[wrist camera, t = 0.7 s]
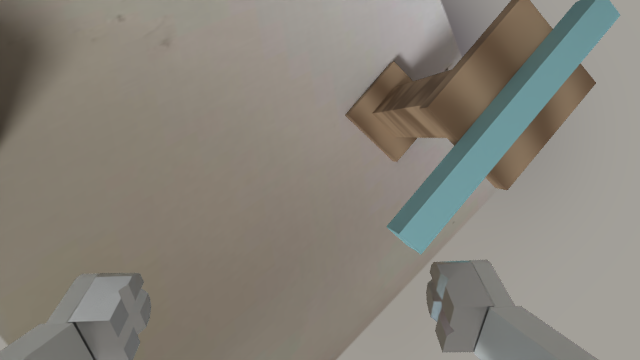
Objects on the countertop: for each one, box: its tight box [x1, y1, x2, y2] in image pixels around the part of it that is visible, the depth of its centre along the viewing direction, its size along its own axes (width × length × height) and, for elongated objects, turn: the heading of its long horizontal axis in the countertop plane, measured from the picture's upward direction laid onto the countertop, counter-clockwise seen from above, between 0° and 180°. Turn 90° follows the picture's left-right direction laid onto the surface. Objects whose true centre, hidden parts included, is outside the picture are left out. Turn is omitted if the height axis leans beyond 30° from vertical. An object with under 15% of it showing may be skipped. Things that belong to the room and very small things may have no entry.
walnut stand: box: [345, 0, 596, 190], centre depth 44 cm, size 12×10×26 cm
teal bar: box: [387, 0, 620, 254], centre depth 30 cm, size 24×2×2 cm, turn 138°
